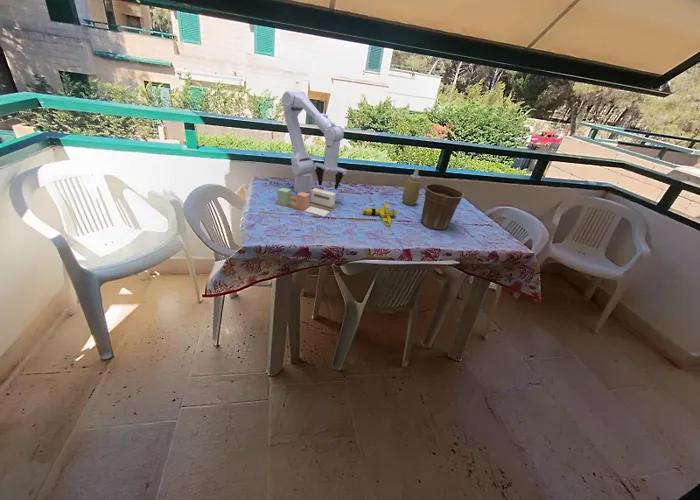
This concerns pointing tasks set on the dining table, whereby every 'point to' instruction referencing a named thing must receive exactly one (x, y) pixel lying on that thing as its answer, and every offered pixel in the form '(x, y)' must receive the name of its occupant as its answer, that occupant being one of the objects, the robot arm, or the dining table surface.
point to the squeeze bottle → (412, 189)
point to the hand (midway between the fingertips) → (328, 186)
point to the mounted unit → (323, 198)
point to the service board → (293, 206)
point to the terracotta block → (303, 200)
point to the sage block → (284, 196)
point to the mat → (317, 211)
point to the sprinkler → (381, 213)
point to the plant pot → (439, 205)
